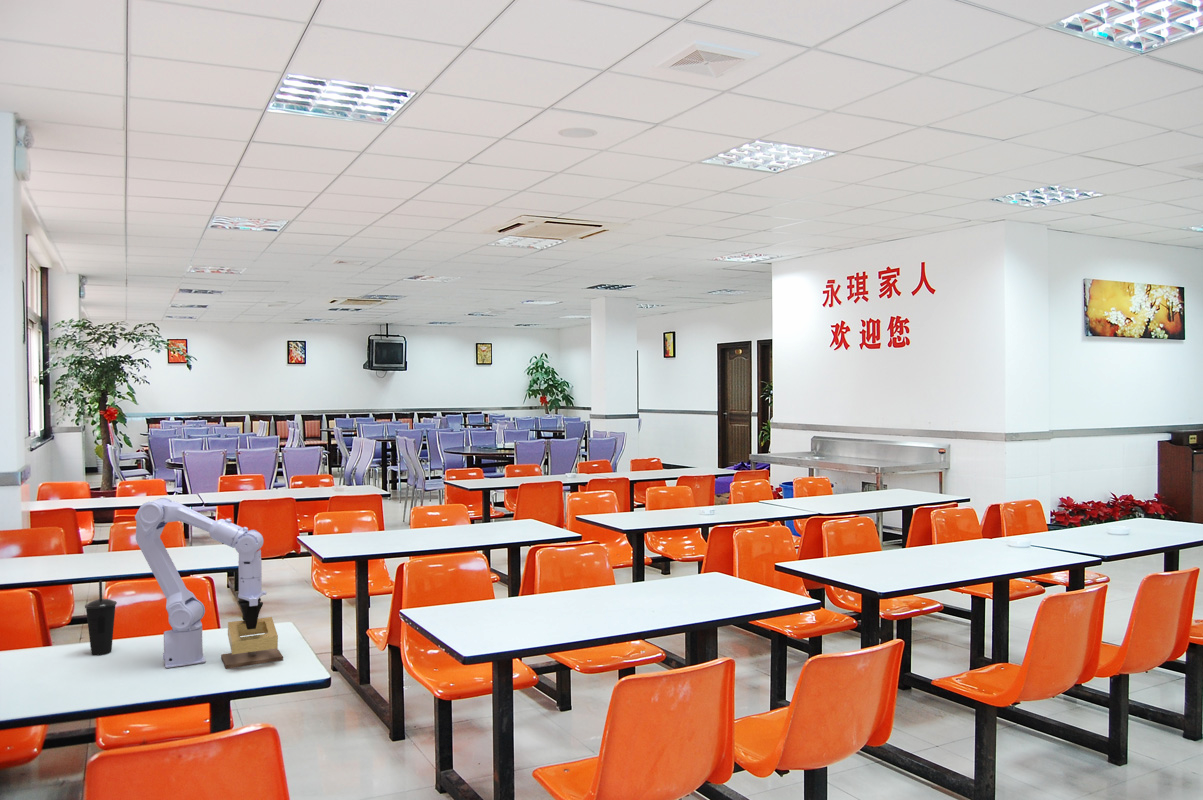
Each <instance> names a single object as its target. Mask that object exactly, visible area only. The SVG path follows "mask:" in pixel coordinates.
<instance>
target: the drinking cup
mask: <svg viewBox="0 0 1203 800" xmlns="http://www.w3.org/2000/svg"><path fill="white" fill-rule="evenodd" d="M98 588H99V589H98V593H99V594H98V597H99V599H98V598H97V599H94V600H91V601H90V602H89V603H86V604H85V605H84V608H85V610H86V611H85V612H86V620H87V628H88V636H89V637H88V638H89V646H90V654H91V655H92V656H96V657H97V656H102V655H109V654H110V653H112V651H113V650H112V648H113V638H114V629H115V628H114V625H115V616H116V615H115V614H116V605H117V603H118V601H116V600H113V599H109V598H103V580H99V581H98Z"/></svg>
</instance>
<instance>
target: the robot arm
mask: <svg viewBox="0 0 1203 800" xmlns="http://www.w3.org/2000/svg"><path fill="white" fill-rule="evenodd" d="M134 519H135V521H136V522H135V523H136V527H135V542H136V543H137V546H138V547H139V549H140V551H141V553H142V555H143V556H144V558H145V561H146V562H147V565H148V566H149V569H150V571H151V572H152V574H153V576H154V577H155V580H156V581H157V584H158V586H159V587H160V589H161V591H162V593H163V595H164V597H165V599H166V604H165V610H166V611H167V614H168V624H169V625H170V627H171V628H172V629H170V630H165V631H163V652H162V660H163V663H164V667H165V668H166V669H169V668H170V669H171V668H177V667H182V666H183V667H184V666H190V665H197V664H203V663H206V662H207V661H206V658H205V655H204V653H203V623H202V621H201V620H202V619H203V617H204V616H205V613H206V609H205V606H204V603H203V602H202V601H200V600H199V599H197V597H196V595H195V594H194V592H192V591H190V590H189V589H188V588H187V587H186V584H185V582H184V581H183V579H182V577H181V576H180V573H179V572H178V569H177V567H176V566H175V563H174V562H173V559H172V558H171V556H170V554H169V552H168V550H167V549H166V547H165V545H164V543H163V540H162V539H161V536H162V533H163V530H164V528H165V526H166V525H167V524H168V523H174V522H181V523H185V524H187V525H188V526H192V527H195V528H197V529H199V530H203V531H205V532H208V534H209V536H210V538H211V539H212V540H214V541H216V542H219V543H222V544H224V545H225V546H228V547H231V548H233V549H235V550H236V553H238V561H237V562H238V594H237V597H238V599H239V600H238V601H237V602H238V605H239V606H240V610H241V611H242V612H241V613H242V617H243V620H245V622H246V627H247V629H248V630H249V629H256V625H257V620H258V619H259V616H260V615H259V614H260V612H261V609H262V608H263V604H264V602H263V601H262V598H261V597H262V596H267V593H268V592H267V591H266V590H263V589H262V588H263V587H262V585H263V584H262V582H263V581H262V578H263V576H262V572H263V571H262V569H263V568H262V550H261V548H262V547H263V546H264V537H263V534H262V533H260V532H259V531H258V530H256V529H250V530H249V528H248V527H247V526H243V527H242V526H241V525H237V524H236V523H233V522H232V521H233V520H232V519H230V518H225V519H224V518H220V519H217V520H214V519H212V518H210V517H208V516H206V515H205V514H202V513H200V512H198V511H196V510H194V509H192V508H190V507H188V506H186V505H184V504H182V503H181V502H178V501H175V500H171V499H170V498H166V497H160V498H158V499H155V500H152V501H147V502H145V503H142V504H141V505H140V507H139V509H138V510H137V512H136V514H135V516H134ZM262 590H263V591H262Z"/></svg>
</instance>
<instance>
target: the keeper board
mask: <svg viewBox="0 0 1203 800" xmlns="http://www.w3.org/2000/svg"><path fill="white" fill-rule="evenodd" d="M220 659H221V662H222V664H223V665H224V669H226V670H228V669H235V668H241V667H247V666H256V665H259V664H260V665H263V664H266V663H267V664H268V663H273V662H274V663H275V662H280V661H283V660H284V656H283V654H282V653H281V652H280V650H279V649H278V648H275V649H268V650H261V651H254V652H246V653H239V654H232V652H230V653H223V654H221V655H220Z"/></svg>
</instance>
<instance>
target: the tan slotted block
mask: <svg viewBox="0 0 1203 800" xmlns="http://www.w3.org/2000/svg"><path fill="white" fill-rule="evenodd" d="M227 636H228V643H229V646H230V651H231V652H230V653H232V654H239V653H246V652H254V651H261V650H268V649H275V648H277V649H278V646H279V644H278V642H279V634H278V632H277V629H276V626H275V623H274V619H273V617H272V616H270V617H269V616H267V617H261V618H260V617H258V620H257V625H256V629H249V630H248V629H247V627H246V622H245V620H244V619H243V620H235V621H227Z"/></svg>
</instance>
